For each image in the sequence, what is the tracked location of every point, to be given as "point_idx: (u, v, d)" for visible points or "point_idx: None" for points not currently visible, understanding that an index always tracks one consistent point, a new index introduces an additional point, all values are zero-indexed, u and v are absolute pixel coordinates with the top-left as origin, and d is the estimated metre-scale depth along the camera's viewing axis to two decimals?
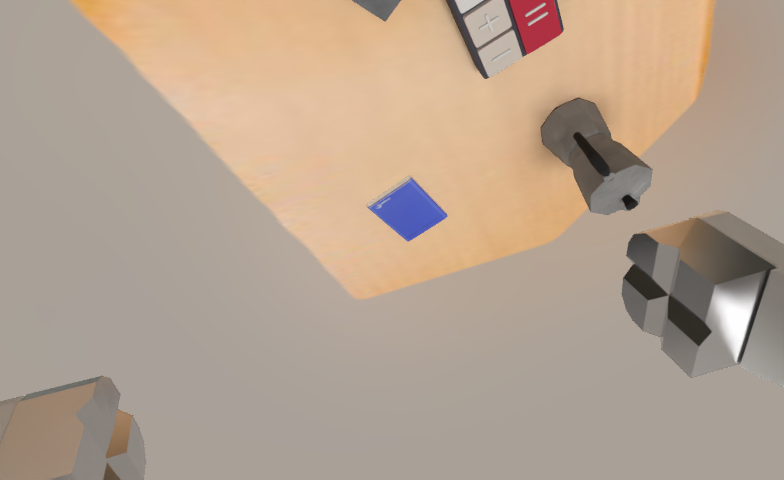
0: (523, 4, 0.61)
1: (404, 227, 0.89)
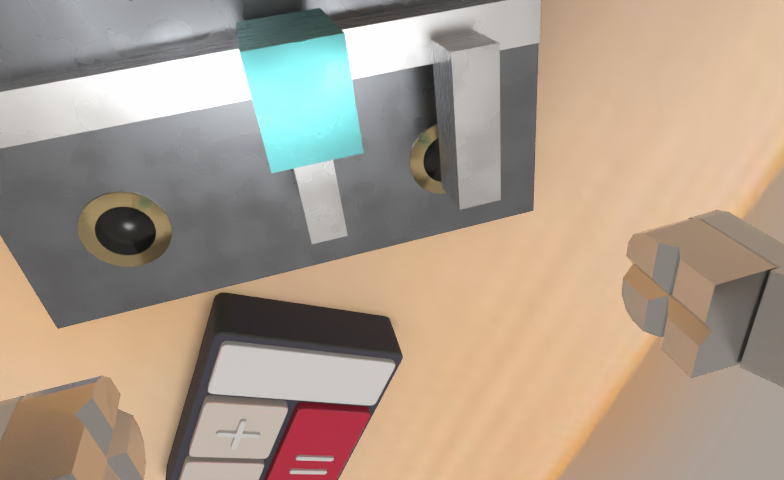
0: (305, 440, 0.33)
1: None
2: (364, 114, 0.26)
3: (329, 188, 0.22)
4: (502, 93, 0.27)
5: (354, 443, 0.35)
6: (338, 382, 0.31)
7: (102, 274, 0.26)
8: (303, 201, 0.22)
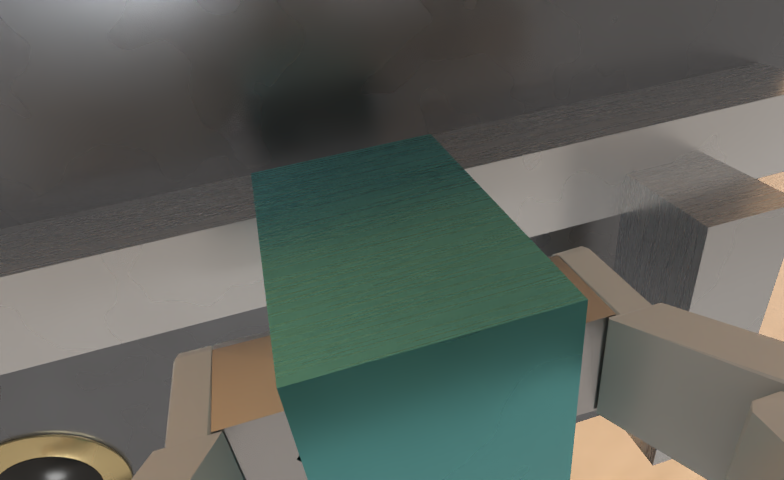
0: None
1: None
2: None
3: None
4: None
5: None
6: None
7: None
8: None
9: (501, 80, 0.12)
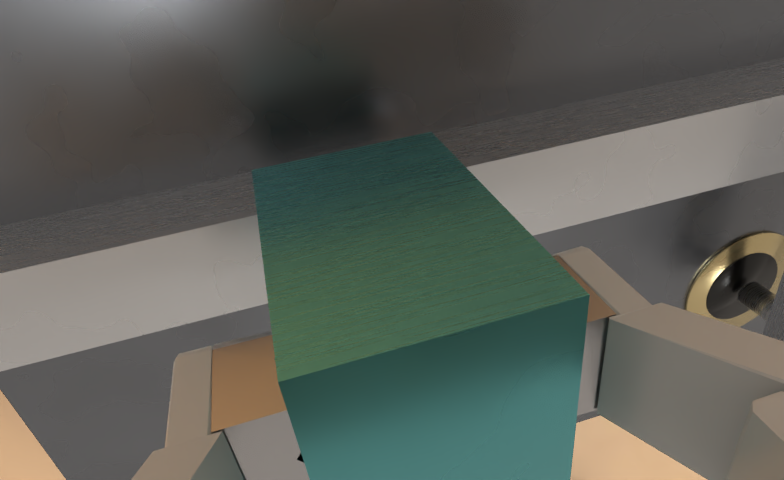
0: None
1: None
2: (646, 231, 0.16)
3: None
4: None
5: None
6: None
7: None
8: None
9: (714, 36, 0.13)
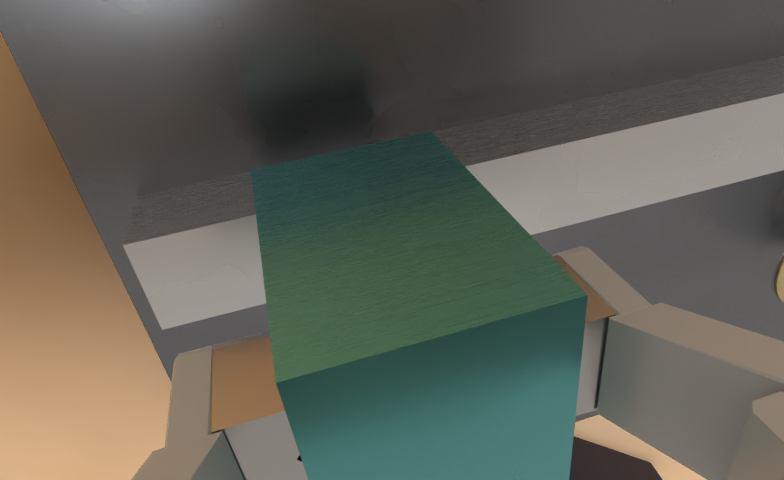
0: None
1: None
2: (750, 202, 0.16)
3: None
4: None
5: None
6: None
7: None
8: None
9: None
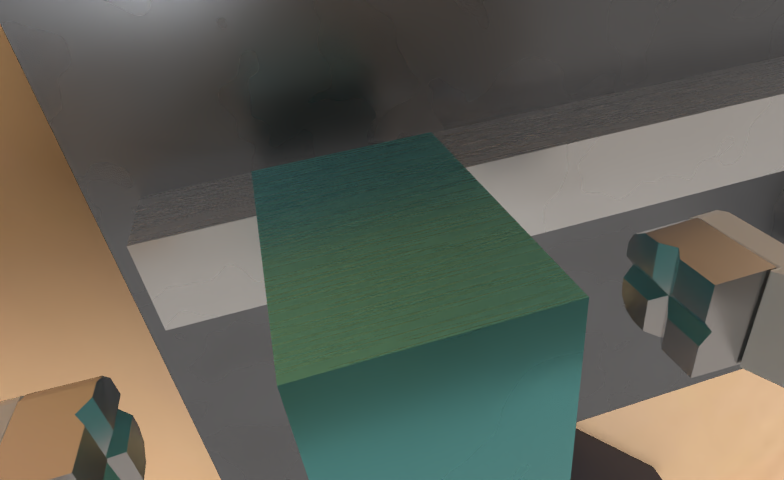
0: None
1: None
2: (752, 202, 0.16)
3: None
4: None
5: None
6: None
7: None
8: None
9: None
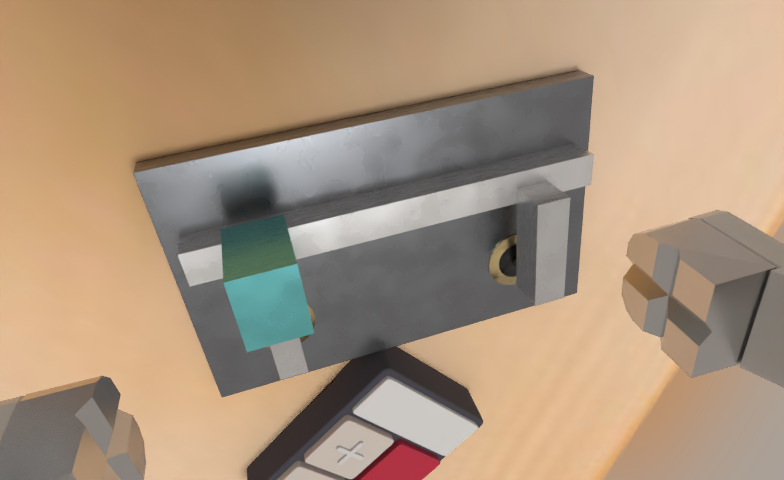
0: (387, 472, 0.41)
1: None
2: (459, 233, 0.35)
3: (293, 340, 0.29)
4: None
5: None
6: (436, 430, 0.40)
7: (260, 356, 0.35)
8: (273, 351, 0.29)
9: (470, 153, 0.32)
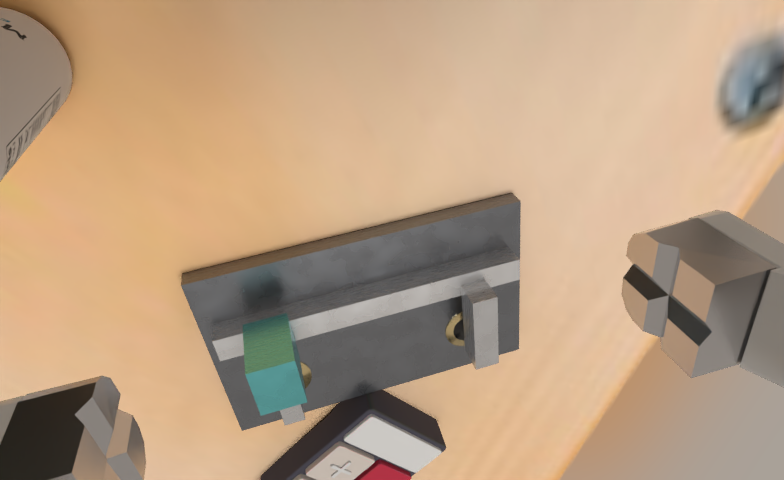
0: None
1: None
2: (421, 311, 0.46)
3: None
4: (499, 294, 0.47)
5: None
6: (408, 454, 0.51)
7: None
8: None
9: (427, 258, 0.43)
